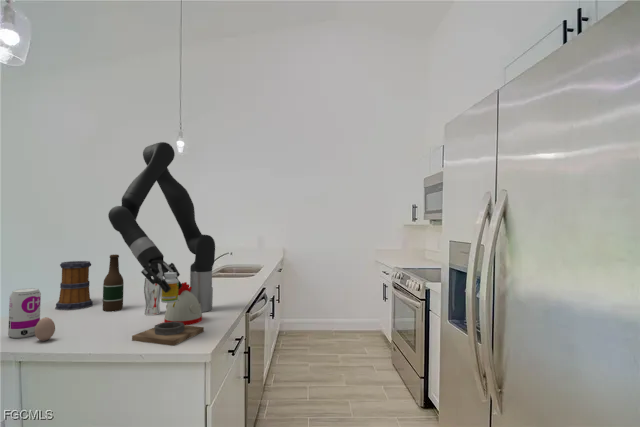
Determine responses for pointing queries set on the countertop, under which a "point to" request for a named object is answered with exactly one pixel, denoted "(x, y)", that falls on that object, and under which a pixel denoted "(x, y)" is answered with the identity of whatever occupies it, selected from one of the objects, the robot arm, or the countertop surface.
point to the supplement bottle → (173, 292)
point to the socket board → (167, 338)
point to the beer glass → (152, 297)
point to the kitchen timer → (184, 307)
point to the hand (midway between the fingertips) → (174, 289)
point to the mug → (74, 286)
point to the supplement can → (24, 312)
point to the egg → (44, 329)
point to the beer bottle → (113, 287)
